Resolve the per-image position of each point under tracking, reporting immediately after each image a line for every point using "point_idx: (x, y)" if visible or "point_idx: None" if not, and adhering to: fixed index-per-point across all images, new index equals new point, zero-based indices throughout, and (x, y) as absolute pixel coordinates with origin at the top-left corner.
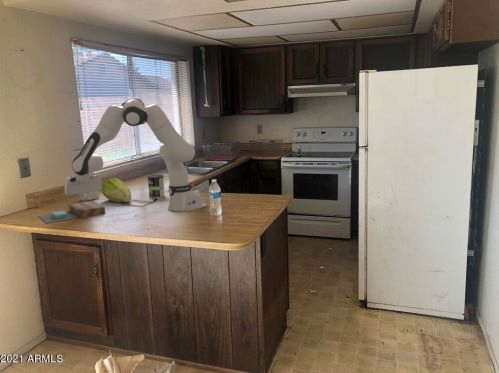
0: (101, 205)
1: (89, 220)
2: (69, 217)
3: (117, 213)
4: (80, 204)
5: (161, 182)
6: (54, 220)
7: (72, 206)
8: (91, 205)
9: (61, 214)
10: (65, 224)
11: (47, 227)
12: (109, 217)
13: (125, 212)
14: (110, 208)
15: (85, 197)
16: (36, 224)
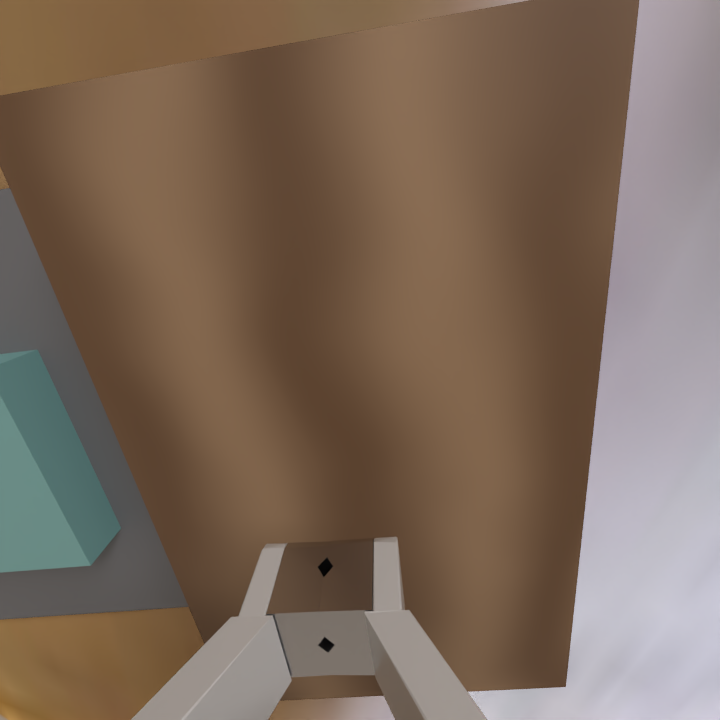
0: (570, 597)
1: (330, 702)
2: (147, 556)
3: (629, 638)
4: (260, 299)
5: None
6: (5, 581)
7: (106, 393)
8: (438, 513)
9: (26, 568)
10: (138, 704)
11: (7, 706)
12: (504, 708)
13: (711, 646)
14: (711, 378)
15: (345, 660)
16: None
